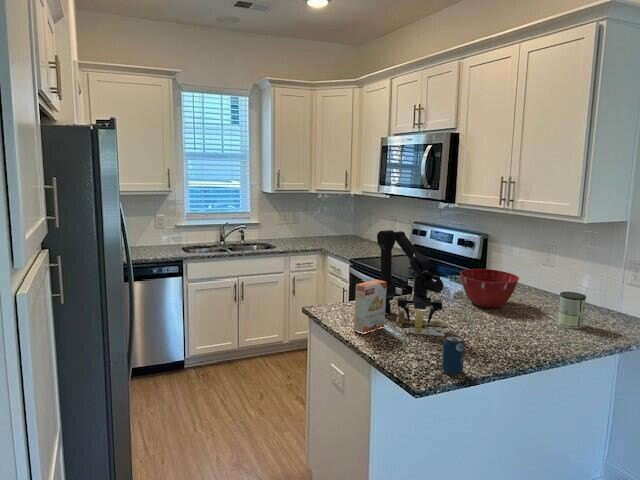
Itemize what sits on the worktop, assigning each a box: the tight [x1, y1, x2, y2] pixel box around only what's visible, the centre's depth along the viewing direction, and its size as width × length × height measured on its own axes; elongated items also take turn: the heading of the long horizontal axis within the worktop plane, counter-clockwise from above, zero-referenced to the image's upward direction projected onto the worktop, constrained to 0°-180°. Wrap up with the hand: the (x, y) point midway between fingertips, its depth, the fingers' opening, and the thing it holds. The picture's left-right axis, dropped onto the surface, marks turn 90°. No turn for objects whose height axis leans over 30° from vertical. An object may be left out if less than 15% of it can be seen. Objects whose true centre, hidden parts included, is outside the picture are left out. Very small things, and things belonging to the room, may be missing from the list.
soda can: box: [441, 334, 466, 376], centre depth 158 cm, size 7×7×12 cm
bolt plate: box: [408, 326, 446, 338], centre depth 197 cm, size 20×7×1 cm, turn 79°
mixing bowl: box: [459, 268, 520, 309], centre depth 239 cm, size 28×28×16 cm
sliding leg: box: [414, 310, 424, 330], centre depth 201 cm, size 3×11×7 cm, turn 169°
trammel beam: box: [396, 310, 444, 328], centre depth 202 cm, size 20×10×6 cm, turn 79°
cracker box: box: [353, 279, 387, 333], centre depth 196 cm, size 14×6×21 cm, turn 134°
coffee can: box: [557, 291, 587, 329], centre depth 209 cm, size 10×10×14 cm
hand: (418, 322), depth 202 cm, fingers open, 8 cm apart
